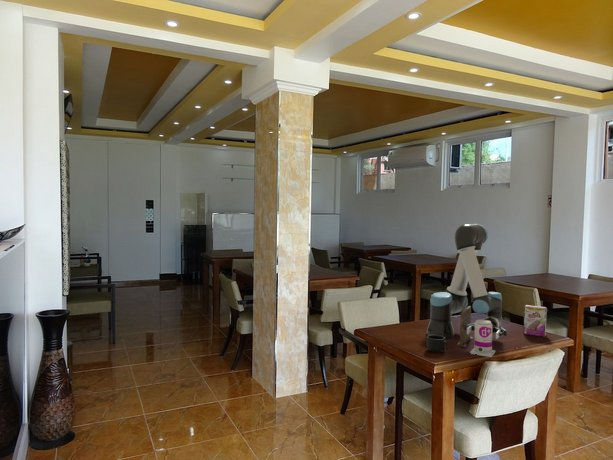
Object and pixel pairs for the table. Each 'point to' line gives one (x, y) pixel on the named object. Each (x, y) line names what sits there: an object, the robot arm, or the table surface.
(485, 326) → the supplement can
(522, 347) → the table surface
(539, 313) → the candy bar box
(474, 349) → the tile
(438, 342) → the mug
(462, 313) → the screen
